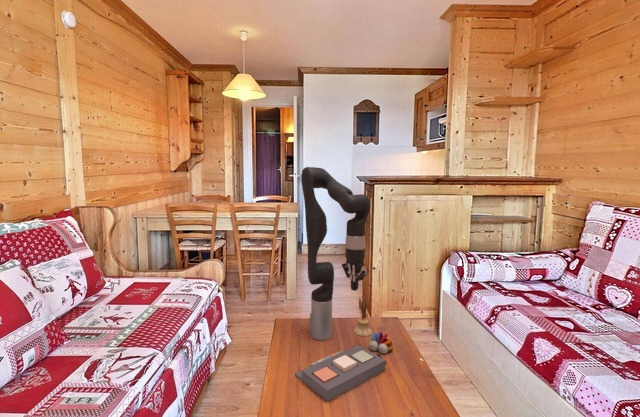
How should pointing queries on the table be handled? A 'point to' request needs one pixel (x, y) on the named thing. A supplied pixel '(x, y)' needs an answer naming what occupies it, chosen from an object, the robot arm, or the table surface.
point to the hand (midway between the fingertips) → (354, 289)
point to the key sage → (362, 357)
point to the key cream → (344, 364)
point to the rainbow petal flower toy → (380, 342)
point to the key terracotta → (325, 374)
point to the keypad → (341, 374)
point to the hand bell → (363, 322)
